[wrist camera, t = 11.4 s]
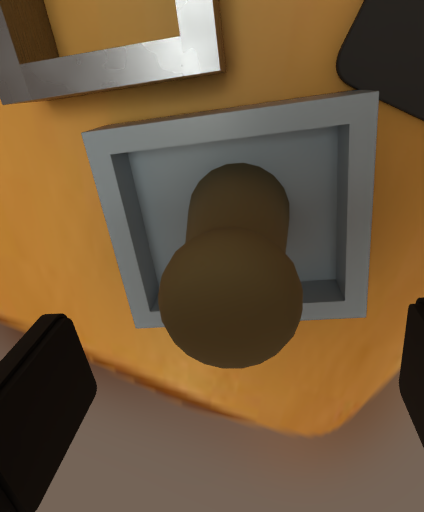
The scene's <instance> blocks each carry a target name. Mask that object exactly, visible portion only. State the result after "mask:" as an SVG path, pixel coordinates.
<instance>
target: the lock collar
mask: <svg viewBox="0 0 424 512" xmlns="http://www.w3.org/2000/svg"><path fill="white" fill-rule="evenodd" d="M175 3H176V10H177V17H178V23H179V30H180V36H178V37H172V38H167V39H161V40H155V41H150V42H144V43H138V44H133V45H127V46H122V47H116V48H110V49H105V50H99V51H93V52H88V53H82V54H76V55H71V56H65V57H59V55H58V52H57V48H56V44H55V41H54V37H53V34H52V30H51V27H50V23H49V19H48V16H47V12H46V9H45V5H44V2H43V0H0V99H1V102H2V104H3V105H6V104H17V103H27V102H38V101H48V100H54V99H60V98H67V97H73V96H79V95H86V94H92V93H98V92H105V91H111V90H118V89H124V88H130V87H137V86H143V85H149V84H156V83H162V82H168V81H175V80H181V79H187V78H194V77H200V76H206V75H213V74H219V73H225V72H226V63H225V53H224V44H223V35H222V25H221V16H220V7H219V0H175Z"/></svg>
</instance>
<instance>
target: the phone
mask: <svg viewBox="0 0 424 512" xmlns="http://www.w3.org/2000/svg"><path fill="white" fill-rule="evenodd" d="M336 70H337V73H338V76H339V77H340V79H341V80H342V81H343V82H344V83H346V84H347V85H349V86H351V87H353V88H355V89H357V90H372V91H379V100H381V101H383V102H385V103H387V104H389V105H391V106H393V107H395V108H398V109H400V110H402V111H404V112H406V113H408V114H410V115H413V116H415V117H417V118H419V119H421V120H423V121H424V0H364V2H363V4H362V6H361V8H360V10H359V12H358V14H357V16H356V18H355V20H354V22H353V24H352V26H351V28H350V30H349V32H348V34H347V36H346V38H345V40H344V42H343V44H342V46H341V48H340V51H339V53H338V56H337V61H336Z"/></svg>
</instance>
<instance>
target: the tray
mask: <svg viewBox="0 0 424 512" xmlns="http://www.w3.org/2000/svg"><path fill="white" fill-rule="evenodd" d="M378 103H379V91H372V90H351V91H344V92H337V93H329V94H322V95H315V96H308V97H301V98H294V99H287V100H280V101H273V102H266V103H259V104H252V105H245V106H238V107H231V108H224V109H217V110H210V111H203V112H196V113H189V114H182V115H174V116H167V117H160V118H153V119H146V120H139V121H132V122H125V123H118V124H111V125H106V126H102V127H99V128H96V129H92V130H89V131H86V132H82V133H81V134H82V138H83V141H84V145H85V148H86V152H87V156H88V159H89V163H90V166H91V170H92V173H93V177H94V181H95V184H96V188H97V191H98V195H99V198H100V202H101V206H102V209H103V213H104V216H105V220H106V223H107V227H108V231H109V234H110V238H111V241H112V245H113V248H114V252H115V256H116V259H117V263H118V266H119V270H120V274H121V277H122V281H123V284H124V288H125V291H126V295H127V299H128V302H129V306H130V309H131V313H132V316H133V320H134V324H135V327H136V328H155V327H165V326H164V324H163V323H162V320H161V315H160V310H159V304H158V293H159V287H160V282H161V276H162V274H163V272H164V270H165V268H166V266H167V265H168V263H169V261H170V260H171V258H172V256H173V255H174V253H175V251H177V250H178V249H179V248H180V247H182V246H183V245H184V244H185V241H186V230H187V220H188V209H189V204H190V199H191V194H192V193H193V191H194V189H195V187H196V186H197V184H198V182H199V181H200V180H201V179H202V178H203V177H204V176H205V175H207V174H208V173H209V172H210V171H211V170H213V169H216V168H218V167H221V166H223V165H225V164H232V163H247V164H251V165H255V166H259V167H261V168H263V169H264V170H266V171H268V172H269V173H271V174H272V175H274V176H275V177H276V179H277V180H278V181H279V182H280V184H281V185H282V186H283V187H284V189H285V192H286V195H287V198H288V200H289V227H288V236H287V246H286V255H287V256H288V257H289V258H290V259H291V261H292V262H293V263H294V266H295V268H296V271H297V274H298V276H299V279H300V282H301V285H302V289H303V310H302V315H301V319H300V321H301V320H321V319H342V318H363V317H366V311H367V294H368V277H369V259H370V242H371V224H372V207H373V190H374V172H375V155H376V137H377V120H378Z"/></svg>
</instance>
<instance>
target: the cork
mask: <svg viewBox="0 0 424 512" xmlns="http://www.w3.org/2000/svg"><path fill="white" fill-rule="evenodd" d="M288 227H289V200H288V198H287V195H286V192H285V189H284V187H283V186H282V185H281V184H280V182H279V181H278V180H277V179H276V177H275V176H274V175H272V174H271V173H269V172H268V171H266V170H264V169H263V168H261V167H259V166H255V165H251V164H247V163H232V164H225V165H223V166H221V167H218V168H216V169H213V170H211V171H210V172H209V173H208V174H207V175H205V176H204V177H203V178H202V179H201V180H200V181H199V182H198V184H197V186H196V187H195V189H194V191H193V193H192V194H191V199H190V204H189V209H188V220H187V230H186V241H185V244H184V245H183V246H182V247H180V248H179V249H178V250H177V251H175V253H174V255H173V256H172V258H171V260H170V261H169V263H168V265H167V266H166V268H165V270H164V272H163V274H162V276H161V282H160V287H159V293H158V304H159V310H160V315H161V320H162V323H163V324H164V326H165V328H166V329H167V331H168V333H169V335H170V336H171V338H172V340H173V341H174V343H175V344H176V345H177V346H178V347H180V348H181V349H182V350H183V351H184V352H185V353H186V354H187V355H188V356H190V357H192V358H194V359H196V360H198V361H200V362H202V363H204V364H207V365H211V366H215V367H219V368H245V367H249V366H253V365H257V364H261V363H262V362H264V361H266V360H268V359H269V358H271V357H273V356H275V355H276V354H277V353H278V352H279V351H280V350H281V349H282V348H283V347H284V346H285V345H286V344H287V343H288V341H289V340H290V339H291V338H292V337H293V336H294V334H295V331H296V329H297V326H298V324H299V322H300V319H301V315H302V310H303V289H302V285H301V282H300V279H299V276H298V274H297V271H296V268H295V266H294V263H293V262H292V261H291V259H290V258H289V257H288V256H287V255H286V246H287V236H288Z"/></svg>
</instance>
